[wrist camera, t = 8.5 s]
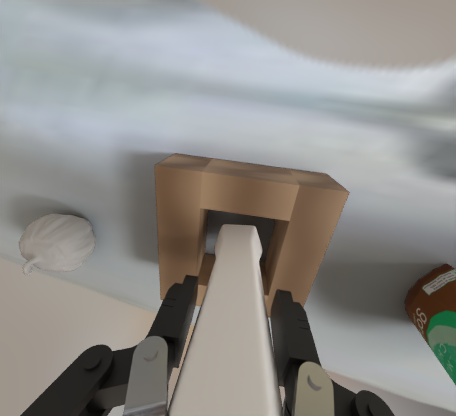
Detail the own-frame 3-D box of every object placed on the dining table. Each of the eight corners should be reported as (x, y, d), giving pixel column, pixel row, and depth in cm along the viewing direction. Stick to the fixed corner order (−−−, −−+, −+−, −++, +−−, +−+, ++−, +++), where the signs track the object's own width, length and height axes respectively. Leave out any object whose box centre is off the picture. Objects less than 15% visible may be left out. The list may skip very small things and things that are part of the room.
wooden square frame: (326, 173, 16) (349, 192, 12) (289, 285, 21) (297, 321, 17) (175, 153, 16) (154, 165, 13) (175, 268, 21) (160, 299, 18)
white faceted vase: (200, 225, 16) (-90, 907, 2) (255, 212, 15) (324, 1239, 1) (219, 270, 18) (121, 805, 4) (270, 261, 17) (362, 915, 3)
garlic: (75, 257, 22) (29, 297, 18) (39, 217, 20) (-24, 249, 16) (117, 242, 21) (79, 280, 16) (83, 196, 19) (28, 225, 14)
